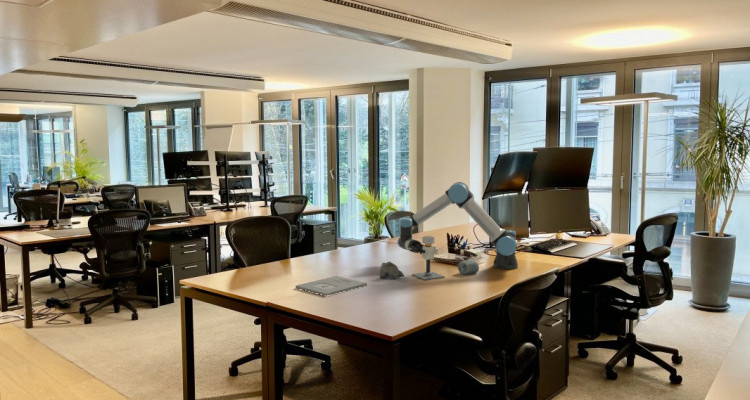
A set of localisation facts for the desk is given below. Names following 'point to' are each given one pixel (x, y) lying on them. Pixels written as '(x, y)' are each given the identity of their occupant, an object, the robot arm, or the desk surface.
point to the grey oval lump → (468, 267)
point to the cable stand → (428, 263)
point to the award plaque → (331, 285)
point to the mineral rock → (390, 271)
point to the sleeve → (431, 252)
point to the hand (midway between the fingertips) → (432, 252)
